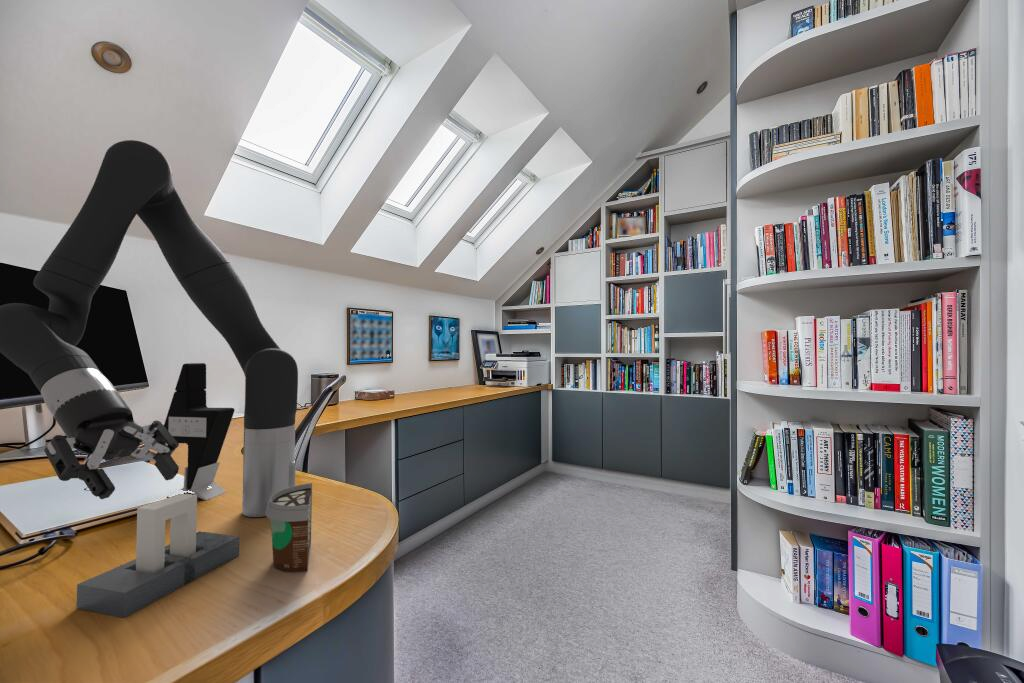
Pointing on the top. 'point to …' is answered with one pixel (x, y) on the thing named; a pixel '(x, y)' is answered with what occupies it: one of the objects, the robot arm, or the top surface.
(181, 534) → the grey arch-shaped block
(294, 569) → the food container
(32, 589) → the top surface
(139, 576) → the grey slotted base block
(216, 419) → the award
